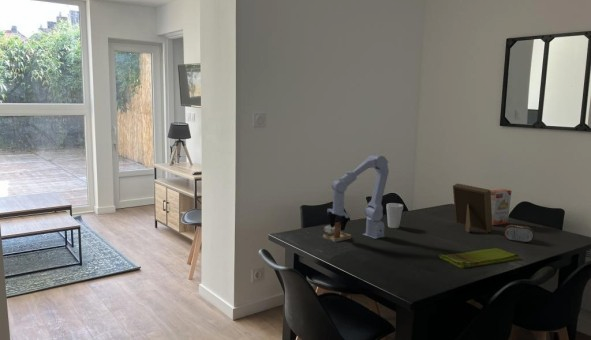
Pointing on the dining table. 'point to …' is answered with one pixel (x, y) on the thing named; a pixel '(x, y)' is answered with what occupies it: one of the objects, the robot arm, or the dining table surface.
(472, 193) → the photo frame
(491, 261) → the dish towel
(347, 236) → the tray
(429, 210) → the dining table surface
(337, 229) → the pin
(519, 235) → the tin
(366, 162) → the robot arm
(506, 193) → the cracker box
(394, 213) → the foam cup
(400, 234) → the dining table surface
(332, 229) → the gray square open box
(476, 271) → the dining table surface
